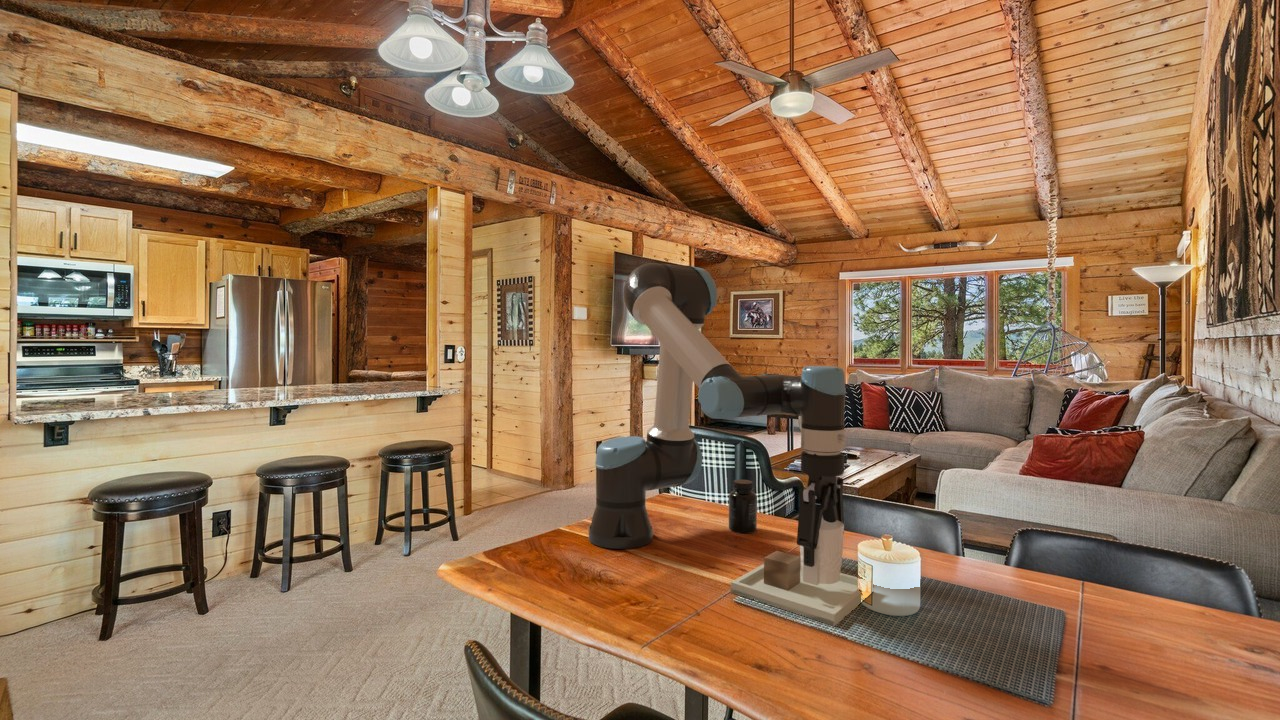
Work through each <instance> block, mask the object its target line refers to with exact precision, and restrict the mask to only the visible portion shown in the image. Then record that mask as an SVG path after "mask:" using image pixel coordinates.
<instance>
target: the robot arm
mask: <svg viewBox="0 0 1280 720" xmlns="http://www.w3.org/2000/svg"><path fill="white" fill-rule="evenodd" d="M622 295H623V301H624V304H625V308H626V309H627V311H628V312H629V313H630V315H631V316H632V318H633V319H634V320H635V321H636V322H637V323H638V324H641V325H645V326H646V327H647V328H648V329H649V330H650V332H651V333H652V334H653V335H654V337H656V340H658V342H659V343H660V344H659V355H658V369H657V383H656V394H655V395H656V396H655V405H654V406H655V408H654V419H653V422H654V423H653V425H652V426H651V427H649V428H648V429H647V432H646V433H647V434H646V439H645V438H644V437H642V436H636V435H635V436H634V435H633V436H631V435H630V436H629V435H628V436H619V437H612V438H610V439H607V440H605V441H602V442H601V443H600V444H599V445H598V446H597V448H596V454H595V455H596V457H595V499H596V500H595V501H596V502H595V509H594V511H593V515H592V519H591V523H590V525H589V527H588V541H589V542H590V543H591V544H592V545H595V546H597V547H599V548H600V547H602V548H606V549H614V550H615V549H616V550H620V549H621V550H624V549H626V550H627V549H635V548H639V547H644V546H646V545H648V544H650V543H651V542H652V541H653V539H654V530H653V525H651V521H650V517H649V513H648V510H647V507H646V505H647V504H646V493H647V492H649V491H654V490H659V489H667V488H672V487H673V488H678V487H681V486H683V485H688V484H690V483H691V482H693V481H694V480H696V479H697V477H698V476H699V474H700V472H701V469H702V465H703V452H702V451H701V450H700V449H701V446H700V444H699V443H698V441H697V440H696V439H695V433H694V432H693V430H691V429H690V418H691V406H692V405H691V404H692V396H693V383H694V384H695V385H696V387H697V388H698V396H697V397H698V398H697V399H698V403H699V404H700V409H701V411H702V413H703V414H704V415H705V416H707V417H709V418H710V419H713V420H714V419H720V420H721V419H722V420H731V419H735V418H736V419H738V418H745V417H746V418H747V417H757V416H758V417H759V416H770V415H771V416H772V415H779V414H780V415H790V416H791V415H792V416H797V417H800V418H801V422H800V425H801V426H800V432H801V433H800V448H801V449H802V452H801V453H800V470H801V472H802V473H803V474H806V475H807V476H808V478H807V479H808V480H807V484H806V488H800V489H799V490H798V491H799V492H798V494H799V495H798V497H799V508H798V509H799V510H798V519H797V520H798V521H797V533H796V534H797V535H796V545H797V546H799V547H800V546H803V582H807V583H810V584H814V585H819V558H820V548H819V547H817V543H818V538H819V529H820V526H821V520H822V517H823V519H824V520H825V521H827V522H830V523H833V522H836V520H838V521H840V522H842V523H843V524H844V525H845V516H844V515H845V514H844V496H843V494H844V492H843V491H844V490H843V488H844V478H841V477H838V476H841V475H844V472H845V455H844V454H843V451H844V450H845V441H846V440H847V439H848V438H847V435H845V412H846V411H845V408H846V406H845V405H846V393H847V389H846V378H845V371H844V369H843V368H841V367H839V366H830V365H829V366H827V365H826V366H825V365H824V366H823V365H807V366H804V367H803V368H802V370H801V375H799V376H798V375H789V374H788V375H787V374H779V373H763V374H760V375H742V374H740V373H739V372H738V371H737V370H736V368H734V366H732V365H731V363H729V361H728V360H727V359H726V358H725V357H724V356H723V355H722V353H720V352H719V350H718V349H717V348H716V347H715V346H714V345H713V344H712V343H711V341H709V340H708V339H707V337H706V336H705V335H704V334H703V333H702V332H701V331H700V330H699V329H701V328H702V327H703V326H704V325H705V319H706V316H708V315H710V314H711V313H712V312H713V309H715V307H716V304H717V301H718V299H717V298H718V289H717V286H716V282H715V280H714V278H713V277H712V276H711V274H710V272H708V271H707V270H706V269H704V268H702V267H699V266H698V267H697V266H692V265H682V264H681V265H679V264H669V263H668V264H667V263H666V264H665V263H658V262H649V263H643V264H641V265H640V266H637V267H636V268H635V269H633V270H632V271H631V272H630V274H629V275H628V277H627V279H626V280H625V283H624V285H623V293H622Z"/></svg>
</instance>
